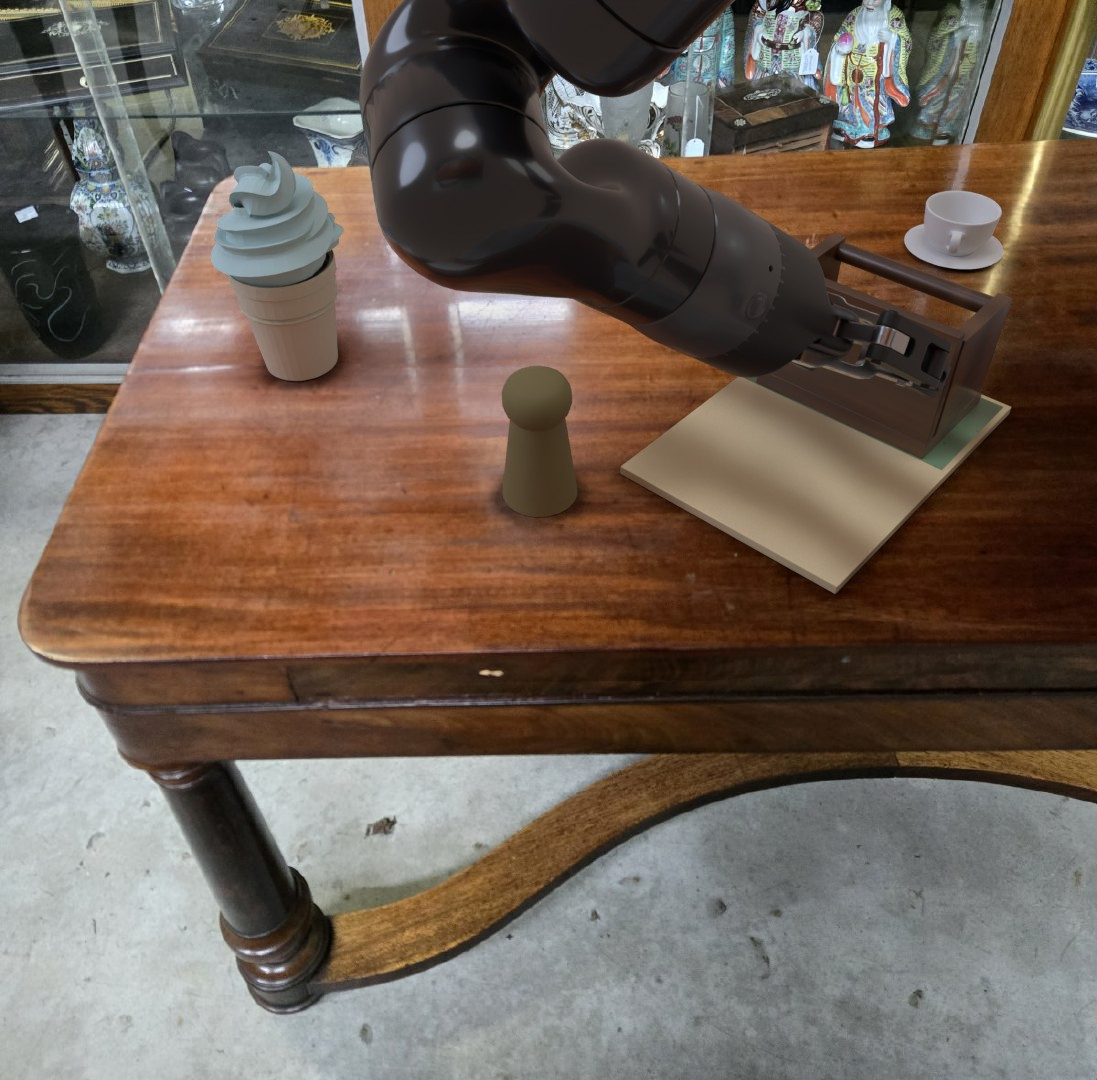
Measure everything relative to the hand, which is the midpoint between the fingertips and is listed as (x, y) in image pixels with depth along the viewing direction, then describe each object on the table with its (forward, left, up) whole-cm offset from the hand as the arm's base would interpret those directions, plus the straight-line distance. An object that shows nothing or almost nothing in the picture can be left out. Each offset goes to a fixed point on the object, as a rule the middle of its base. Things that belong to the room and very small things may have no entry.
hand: (873, 366), depth 63 cm
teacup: (+2, -52, -19) cm, 55 cm away
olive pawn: (+23, +1, -19) cm, 29 cm away
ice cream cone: (+51, -5, -19) cm, 54 cm away
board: (+5, -15, -18) cm, 24 cm away
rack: (+3, -22, -18) cm, 29 cm away
